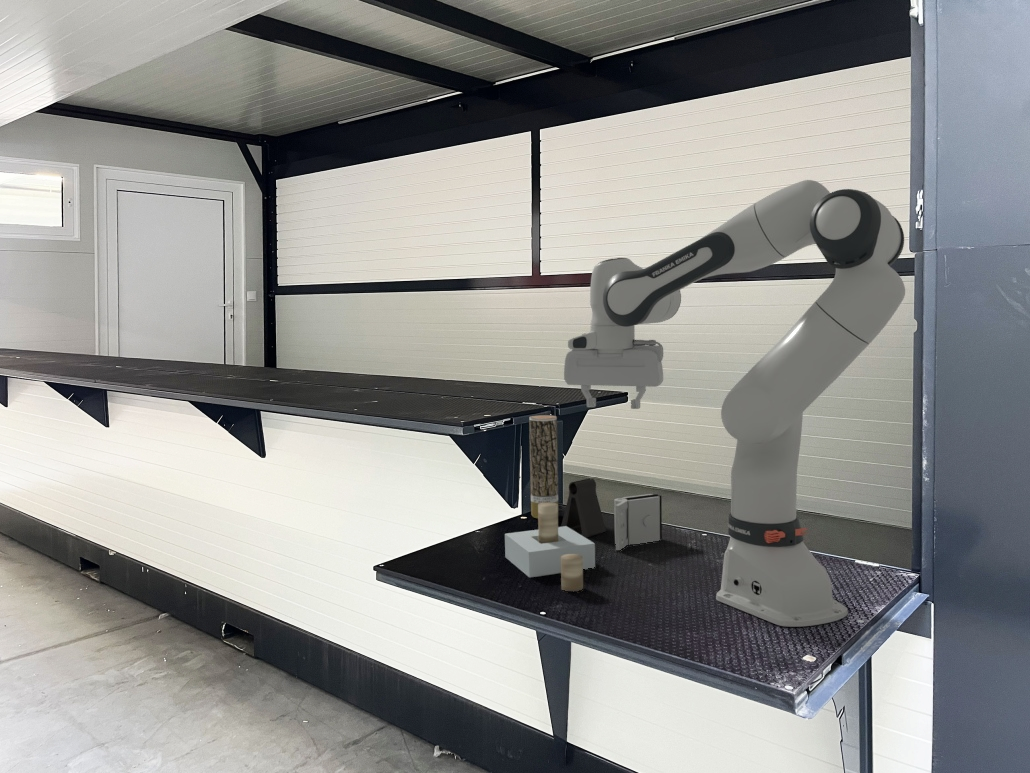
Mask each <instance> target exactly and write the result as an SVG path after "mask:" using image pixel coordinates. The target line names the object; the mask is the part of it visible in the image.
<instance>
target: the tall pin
mask: <svg viewBox="0 0 1030 773" xmlns="http://www.w3.org/2000/svg"><path fill="white" fill-rule="evenodd" d="M537 521H538V522H537V525H538V527H537V530H539V543H541V544H543V543H551V542H558V527H559V503H558V504H556V503H550V502H546V503H540V504H538V519H537Z"/></svg>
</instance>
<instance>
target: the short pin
mask: <svg viewBox="0 0 1030 773" xmlns="http://www.w3.org/2000/svg"><path fill="white" fill-rule="evenodd" d="M560 576H561V578H560V582H561V585H560V587H561V588H560V589H561V591H562V590H565V591H573V592H574V591H579V590H582V589H583V590H584V570H583V557H582V556H581V555H578V554H566V555H563V556H561V573H560ZM583 590H582V591H583Z"/></svg>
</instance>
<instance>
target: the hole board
mask: <svg viewBox="0 0 1030 773" xmlns="http://www.w3.org/2000/svg"><path fill="white" fill-rule="evenodd" d="M504 548H505V549H504V552H505V554H504V555H505V556H504V558H506V559H507V560H508V561H509V562H510V563H511V564H513V565H514V566H515V567H516V568H517V569H518V570H520V571H521V572H522V573H524V574H525V575H526V576H527V577H528V578H534V577H535V578H536V577H542V576H550V575H556V574H561V556H563V555H566V554H578V555H581V556H582V557H583V569H585V570H589V569H588V568H592V569H595V568H596V544H595V543H594V542H593V541H592V540H590V539H588V538H587V537H583V536H582V535H580V534H578V533H577V532H575V531H574V530H572V529H570V528H569V527H567V526H563V527H561V526H558V542H551V543H543V544H541V543H539V530H538V529H534V530H533V529H532V530H524V531H514V532H508V533H504ZM594 567H595V568H594Z"/></svg>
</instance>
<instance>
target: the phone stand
mask: <svg viewBox="0 0 1030 773" xmlns="http://www.w3.org/2000/svg"><path fill="white" fill-rule="evenodd" d="M595 480H596V479H594V478H590V477H589V478H586V479H580V480H575V481H572V482H570V483H569V484H568V497H567V502H566V506H565V510H564V514H563V517H562V520H561V521H562V522H561V525H560V527H563V526H567V527H569V528H570V529H572V530H574V531H575V532H577V533H578V534H580V535H582V536H583V537H585V538H587V539H588V538H590V537H591V538H592V537H594V536H597V535H601V534H604V533H603V532H605V533H606V532H607V529H606V525H605V520H604V517H603V513H602V510H601V507H600V502H599V498H598V495H597V482H596V481H595Z"/></svg>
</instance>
